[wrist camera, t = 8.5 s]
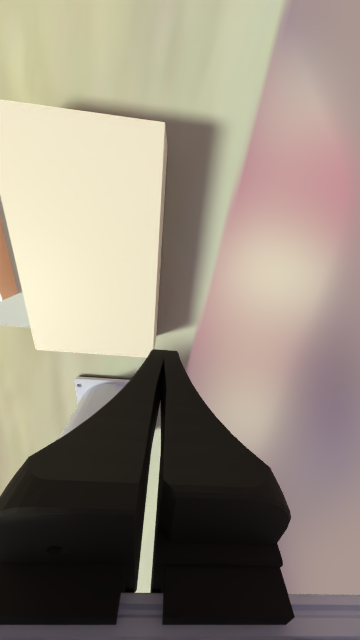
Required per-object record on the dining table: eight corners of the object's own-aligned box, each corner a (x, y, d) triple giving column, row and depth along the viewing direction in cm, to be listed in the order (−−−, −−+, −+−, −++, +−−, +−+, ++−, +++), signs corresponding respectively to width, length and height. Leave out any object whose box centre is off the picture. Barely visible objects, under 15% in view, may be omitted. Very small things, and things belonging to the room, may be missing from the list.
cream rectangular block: (156, 335, 22) (152, 357, 18) (59, 328, 21) (35, 349, 18) (167, 147, 15) (165, 122, 11) (27, 128, 15) (-23, 96, 11)
